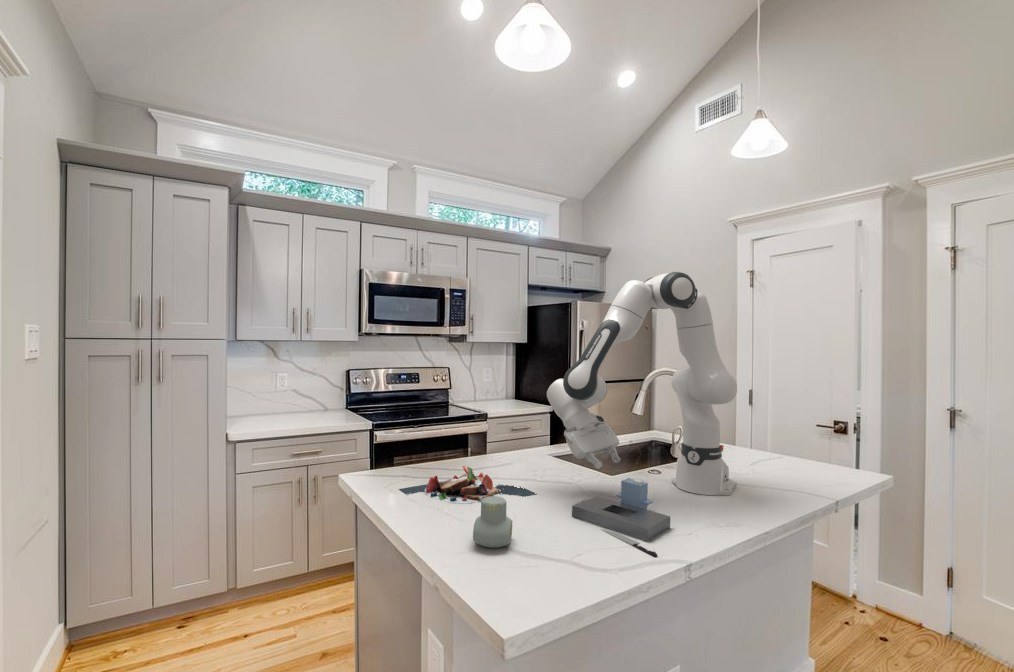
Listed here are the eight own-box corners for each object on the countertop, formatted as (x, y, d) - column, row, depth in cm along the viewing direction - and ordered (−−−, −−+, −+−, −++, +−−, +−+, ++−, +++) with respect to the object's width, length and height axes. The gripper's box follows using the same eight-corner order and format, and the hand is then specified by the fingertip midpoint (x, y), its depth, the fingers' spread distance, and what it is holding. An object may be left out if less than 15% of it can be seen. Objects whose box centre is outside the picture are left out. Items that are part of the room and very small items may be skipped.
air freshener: (479, 532, 121) (479, 491, 121) (512, 534, 120) (513, 493, 120) (471, 552, 110) (472, 507, 110) (508, 554, 109) (509, 509, 109)
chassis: (596, 506, 142) (596, 495, 142) (670, 528, 127) (670, 516, 127) (571, 516, 133) (572, 505, 133) (647, 541, 118) (648, 529, 118)
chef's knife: (605, 528, 127) (596, 529, 126) (605, 523, 127) (596, 524, 126) (664, 557, 111) (655, 559, 109) (664, 551, 111) (655, 553, 109)
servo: (621, 504, 144) (622, 473, 144) (653, 513, 137) (654, 481, 137) (614, 507, 141) (615, 476, 141) (646, 516, 134) (647, 484, 134)
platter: (434, 519, 131) (435, 484, 131) (396, 493, 153) (396, 464, 153) (539, 498, 151) (539, 468, 151) (491, 478, 173) (492, 452, 173)
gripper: (568, 423, 142) (596, 464, 136) (606, 416, 157) (633, 452, 150) (555, 436, 145) (582, 477, 139) (594, 428, 160) (620, 464, 154)
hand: (609, 464), depth 145 cm, fingers open, 8 cm apart
